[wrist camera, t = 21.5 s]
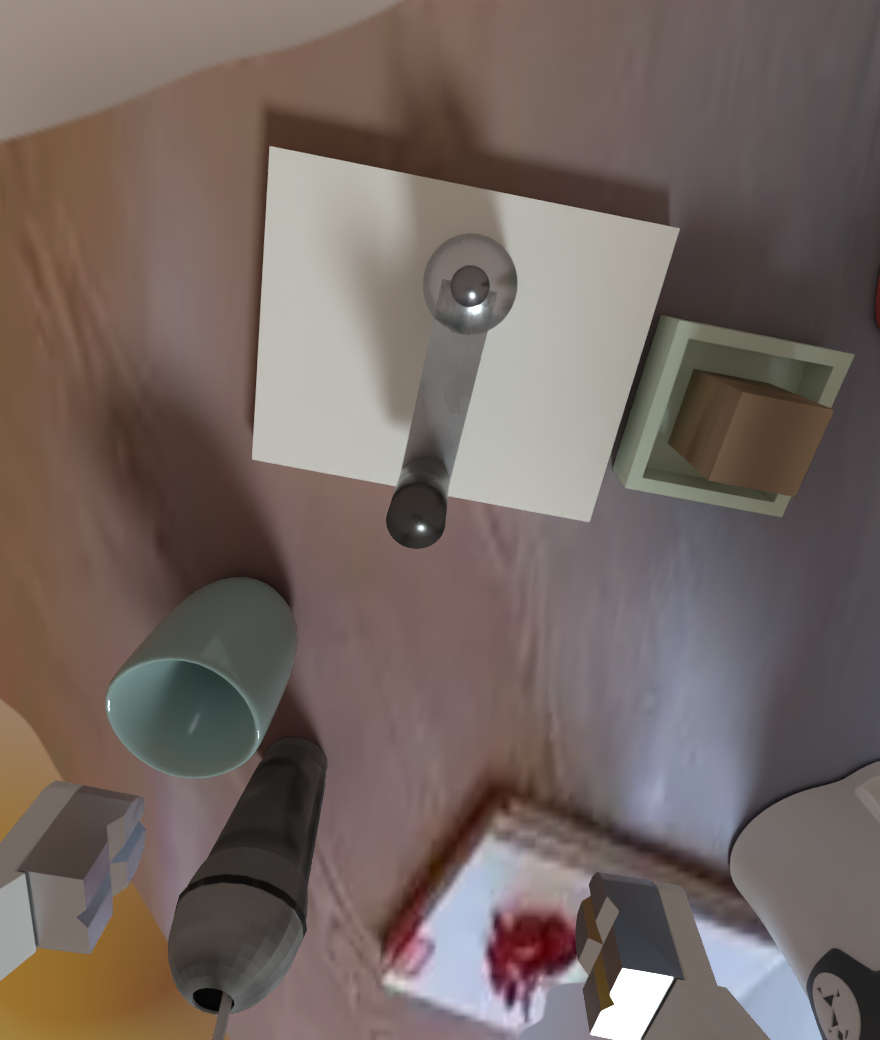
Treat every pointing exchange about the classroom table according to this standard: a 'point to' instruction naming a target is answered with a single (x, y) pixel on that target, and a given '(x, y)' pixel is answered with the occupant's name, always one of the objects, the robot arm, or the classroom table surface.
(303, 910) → the beverage cup
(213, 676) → the cup
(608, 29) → the classroom table surface
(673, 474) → the tray
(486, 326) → the crank
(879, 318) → the stacking bear
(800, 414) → the block
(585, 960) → the robot arm
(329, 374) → the crank plate
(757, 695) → the classroom table surface
